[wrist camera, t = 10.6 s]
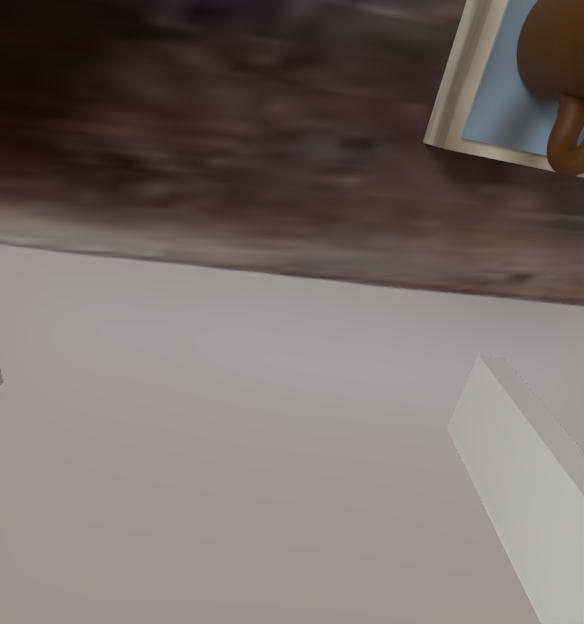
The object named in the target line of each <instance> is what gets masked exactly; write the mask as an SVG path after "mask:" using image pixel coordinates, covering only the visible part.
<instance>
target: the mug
mask: <svg viewBox="0 0 584 624" xmlns="http://www.w3.org/2000/svg"><path fill="white" fill-rule="evenodd" d="M516 57H517V66H518V71H519V74H520V77H521V79H522V81H523V83H524V84H525V85H526V87H527V88H528V89H529V90H530V91H531V92H532V93H534V94H535V95H537V96H539V97H541V98H543V99H546V100H550V101H559V106H558V111H557V119H556V121H555V123H554V125H553V128H552V130H551V133H550V136H549V139H548V143H547V159H548V163H549V165H550V166H551V168H552V169H553V170H554V171H555V172H557V173H559V174H560V175H563V176H577V175H580V174H583V173H584V139H583V140H582V142H581V143H580V145H579V146H578V147H577V141H578V138H579V135H580V133H581V131H582V129H583V127H584V0H537V2H536V3H535V4H534V6H533V7H532V9H531V10H530V12H529V14H528V15H527V17H526V19H525V21H524V23H523V26H522V29H521V31H520V35H519V39H518V44H517V56H516Z"/></svg>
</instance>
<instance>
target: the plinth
mask: <svg viewBox="0 0 584 624" xmlns="http://www.w3.org/2000/svg"><path fill="white" fill-rule="evenodd" d="M536 2H537V0H467V1H466V4H465V7H464V11H463V14H462V17H461V20H460V23H459V27H458V30H457V33H456V36H455V40H454V43H453V46H452V49H451V53H450V56H449V59H448V62H447V65H446V69H445V72H444V75H443V78H442V82H441V85H440V88H439V91H438V94H437V98H436V101H435V104H434V107H433V111H432V114H431V117H430V120H429V124H428V127H427V130H426V133H425V136H424V140H423V143H425V144H429V145H432V146H436V147H439V148H443V149H447V150H452V151H457V152H462V153H467V154H472V155H476V156H481V157H486V158H491V159H496V160H501V161H506V162H510V163H515V164H520V165H525V166H530V167H535V168H540V169H544V170H549V171H554V170H553V169H552V168H551V166H550V165H549V163H548V159H547V143H548V139H549V136H550V133H551V130H552V128H553V125H554V123H555V121H556V119H557V111H558V106H559V101H550V100H546V99H543V98H541V97H539V96H537V95H535V94H534V93H532V92H531V91H530V90H529V89H528V88H527V87H526V85H525V84H524V83H523V81H522V79H521V77H520V74H519V71H518V66H517V57H516V56H517V44H518V39H519V35H520V31H521V29H522V26H523V23H524V21H525V19H526V17H527V15H528V14H529V12H530V10H531V9H532V7H533V6H534V4H535V3H536ZM583 139H584V127H583V129H582V131H581V133H580V135H579V138H578V141H577V147H578V146H579V145H580V143H581V142H582V140H583ZM554 172H555V171H554ZM577 176H578V177H583V178H584V173H583V174H580V175H577Z"/></svg>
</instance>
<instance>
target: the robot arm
mask: <svg viewBox="0 0 584 624" xmlns="http://www.w3.org/2000/svg"><path fill="white" fill-rule="evenodd" d="M2 383H3V379H2V375H1V370H0V385H1V384H2ZM446 429H447V431H448V433H449V435H450V437H451V439H452V441H453V443H454V445H455V447H456V449H457V451H458V453H459V456H460V458H461V459H462V462H463V464H464V466H465V468H466V470H467V472H468V474H469V476H470V478H471V480H472V482H473V484H474V487H475V489H476V491H477V493H478V495H479V497H480V499H481V501H482V503H483V505H484V507H485V509H486V511H487V513H488V515H489V517H490V520H491V521H492V524H493V526H494V528H495V530H496V532H497V534H498V536H499V538H500V540H501V542H502V544H503V546H504V548H505V550H506V552H507V555H508V557H509V559H510V561H511V563H512V565H513V567H514V569H515V571H516V573H517V575H518V577H519V579H520V581H521V583H522V585H523V588H524V590H525V592H526V594H527V596H528V598H529V600H530V602H531V604H532V606H533V608H534V610H535V612H536V614H537V616H538V619H539V620H540V622H541V624H584V452H583V451H582V450H581V449H580V448H579V446H577V444H576V443H575V442H574V440H573V439H572V438H571V437H570V436H569V435H568V434H567V432H566V431H565V430H564V429H563V428H562V426H561V425H560V424H559V423H558V421H557V420H556V419H555V418H554V417H553V415H552V414H551V413H550V412H549V411H548V409H547V408H546V407H545V406H544V405H543V404H542V402H541V401H540V400H539V399H538V398H537V396H536V395H535V394H534V393H533V392H532V390H531V389H530V388H529V387H528V386H527V384H526V383H525V382H524V381H523V380H522V378H521V377H520V376H519V375H518V374H517V372H516V371H515V370H514V369H513V368H512V367H511V366H510V364H509V363H508V362H507V361H506V359H505V358H500V357H492V356H484V355H478V357H477V359H476V362H475V364H474V366H473V368H472V371H471V373H470V375H469V377H468V379H467V382H466V384H465V386H464V389H463V391H462V393H461V395H460V398H459V400H458V402H457V404H456V407H455V409H454V411H453V413H452V416H451V418H450V420H449V423H448V425H447V427H446Z"/></svg>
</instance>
